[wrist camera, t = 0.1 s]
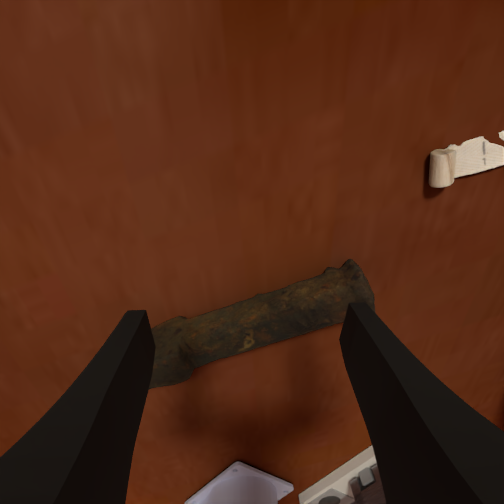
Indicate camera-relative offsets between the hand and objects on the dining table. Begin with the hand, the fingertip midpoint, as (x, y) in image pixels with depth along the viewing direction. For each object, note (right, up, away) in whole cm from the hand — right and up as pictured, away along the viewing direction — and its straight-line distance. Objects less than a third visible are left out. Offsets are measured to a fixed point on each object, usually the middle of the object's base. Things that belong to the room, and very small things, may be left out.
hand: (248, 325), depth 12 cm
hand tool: (-1, -2, +13) cm, 14 cm away
